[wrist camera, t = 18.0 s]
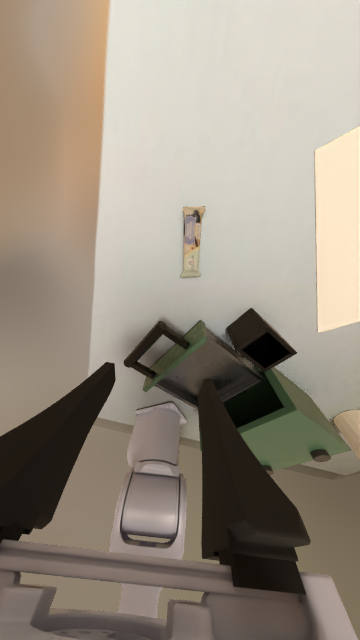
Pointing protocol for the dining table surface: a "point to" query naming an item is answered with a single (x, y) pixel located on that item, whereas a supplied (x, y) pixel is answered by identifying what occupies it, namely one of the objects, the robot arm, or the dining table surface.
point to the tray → (195, 365)
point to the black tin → (259, 341)
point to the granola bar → (191, 240)
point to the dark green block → (283, 424)
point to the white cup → (350, 428)
